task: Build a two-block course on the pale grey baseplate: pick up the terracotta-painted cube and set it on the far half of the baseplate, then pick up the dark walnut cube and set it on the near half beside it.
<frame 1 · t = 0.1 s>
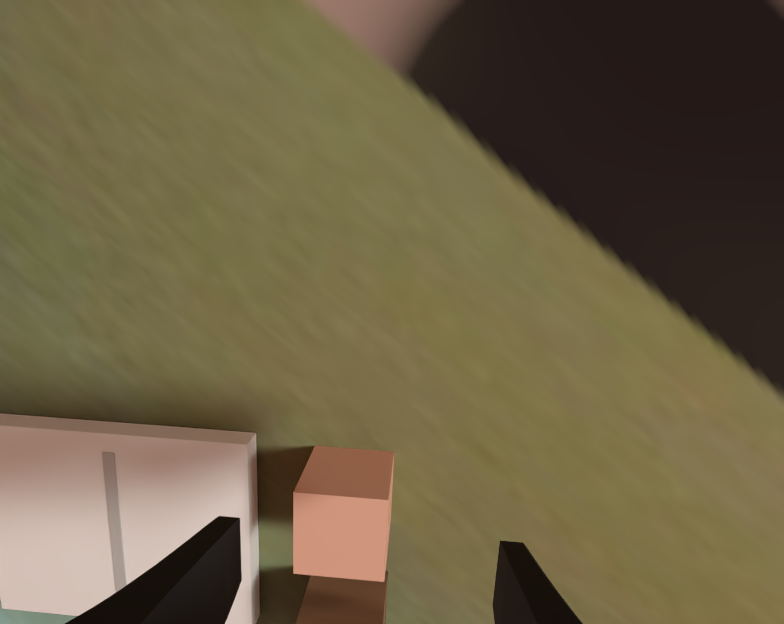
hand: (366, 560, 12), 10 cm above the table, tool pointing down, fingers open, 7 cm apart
terracotta block: (353, 483, 23), on the table
baseplate: (131, 516, 24), on the table
walnut block: (350, 598, 25), on the table
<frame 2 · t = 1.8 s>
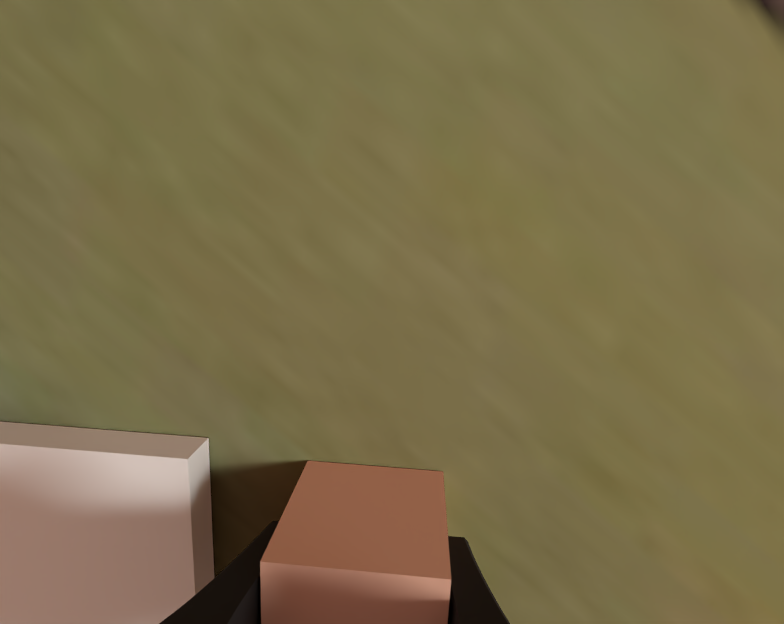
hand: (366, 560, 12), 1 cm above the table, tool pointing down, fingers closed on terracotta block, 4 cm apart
terracotta block: (372, 525, 14), on the table, touching gripper
baseplate: (9, 573, 15), on the table
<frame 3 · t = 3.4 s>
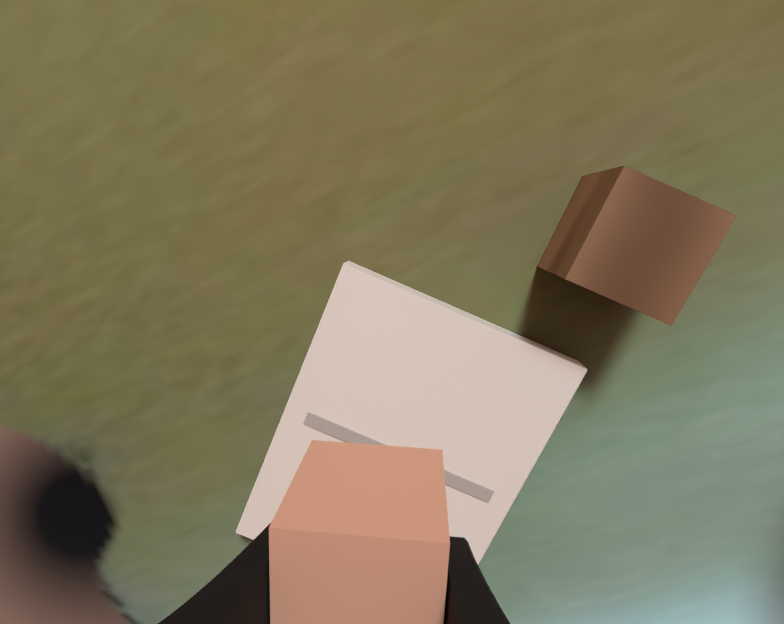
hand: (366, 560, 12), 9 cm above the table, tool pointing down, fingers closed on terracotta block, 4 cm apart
terracotta block: (374, 502, 14), point 7 cm above the table, touching gripper
baseplate: (400, 443, 21), on the table
walnut block: (602, 241, 19), on the table
when the fingers open (4 cm above the table, at t = 5.1 s): terracotta block stays where it is, resting on baseplate.
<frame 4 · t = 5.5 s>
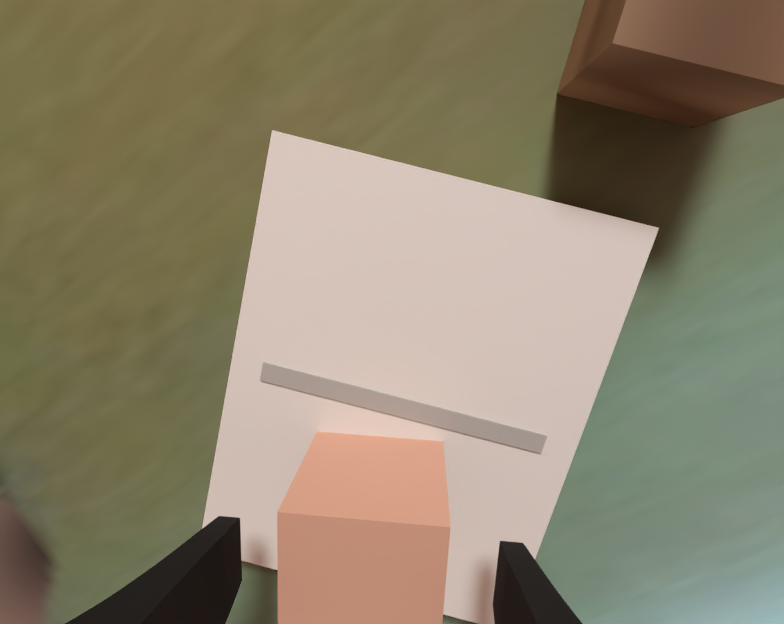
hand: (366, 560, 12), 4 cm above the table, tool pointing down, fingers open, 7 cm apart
terracotta block: (376, 492, 15), point 1 cm above the table, touching baseplate
baseplate: (403, 392, 15), on the table
walnut block: (648, 36, 13), on the table
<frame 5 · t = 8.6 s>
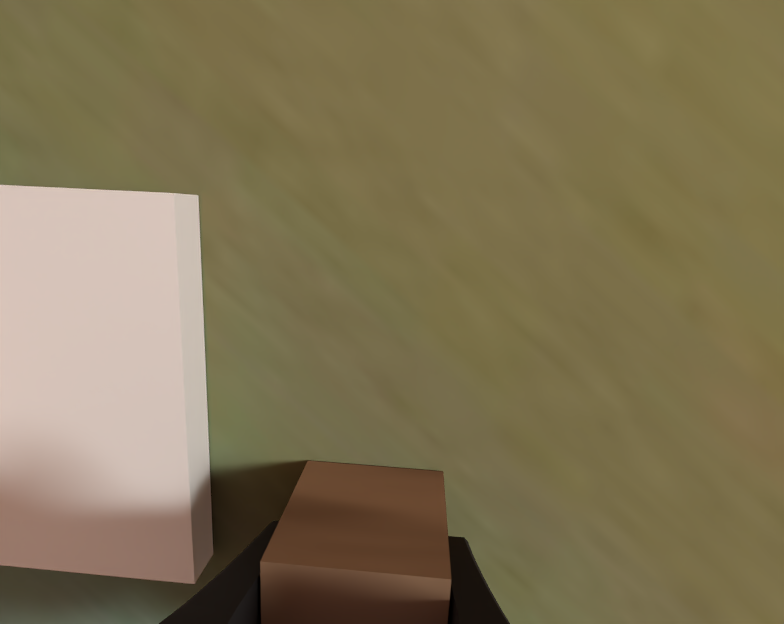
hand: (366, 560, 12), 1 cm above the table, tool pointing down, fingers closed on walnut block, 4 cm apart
walnut block: (372, 525, 14), on the table, touching gripper
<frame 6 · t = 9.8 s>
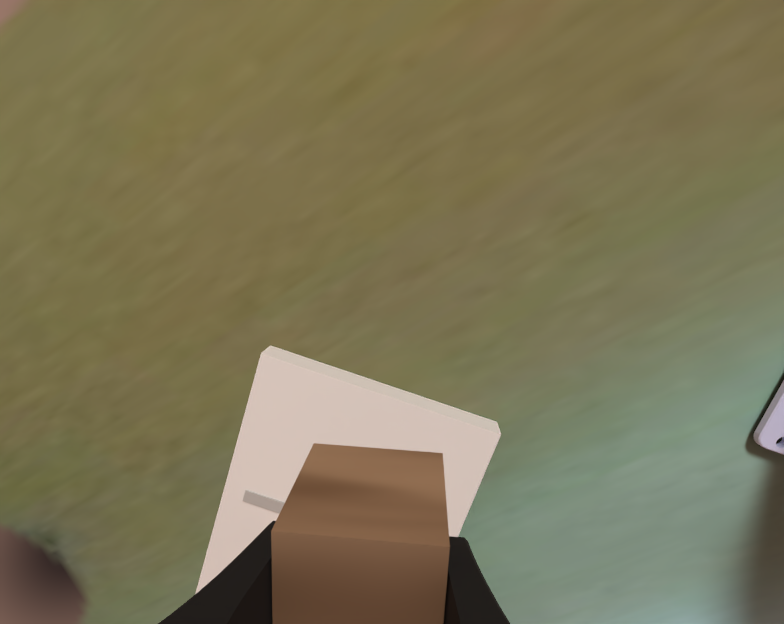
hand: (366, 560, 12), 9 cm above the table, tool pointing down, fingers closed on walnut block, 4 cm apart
baseplate: (340, 509, 22), on the table
walnut block: (375, 505, 14), point 7 cm above the table, touching gripper
when the fingers open (4 cm above the table, at t = 11.4 s): walnut block stays where it is, resting on baseplate.
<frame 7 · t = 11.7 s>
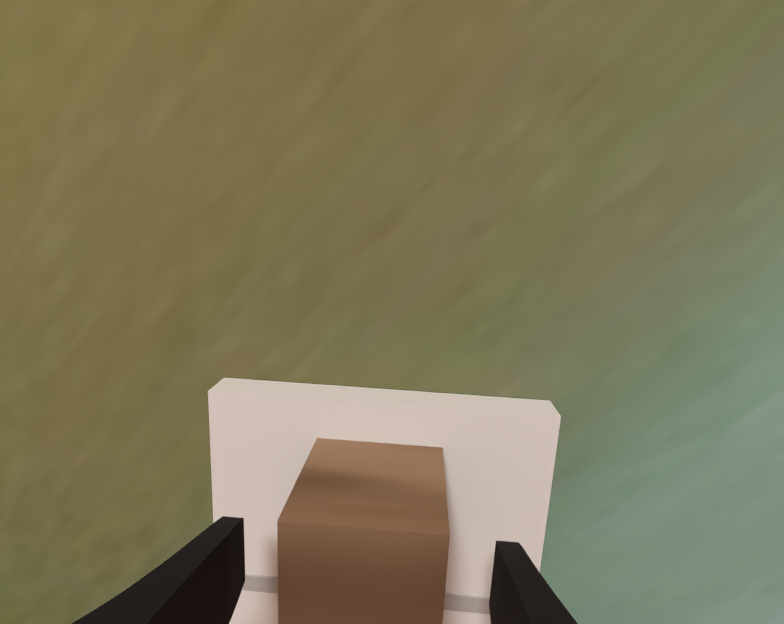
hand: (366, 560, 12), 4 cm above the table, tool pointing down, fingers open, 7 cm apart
baseplate: (375, 567, 17), on the table
walnut block: (376, 498, 15), point 1 cm above the table, touching baseplate
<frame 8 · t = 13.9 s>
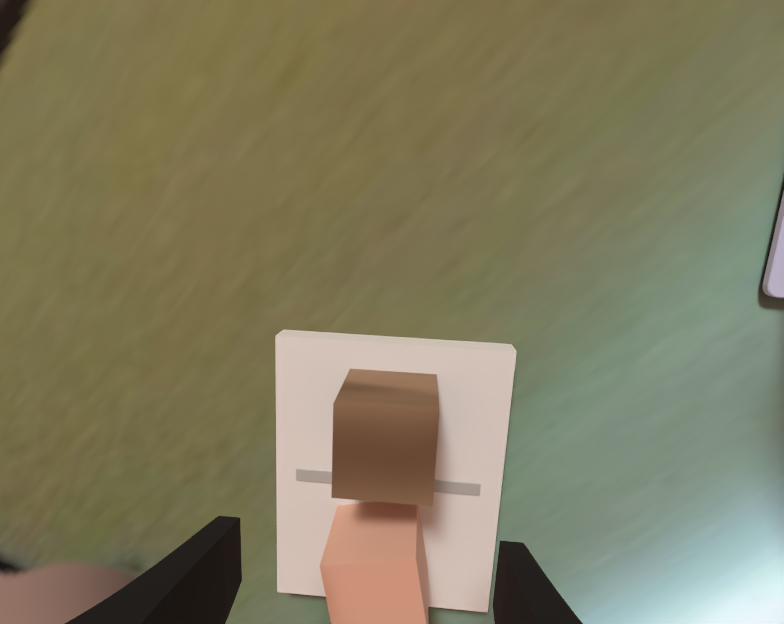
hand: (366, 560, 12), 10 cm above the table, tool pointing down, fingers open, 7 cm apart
terracotta block: (383, 537, 23), point 1 cm above the table, touching baseplate
baseplate: (389, 468, 23), on the table
walnut block: (391, 411, 21), point 1 cm above the table, touching baseplate
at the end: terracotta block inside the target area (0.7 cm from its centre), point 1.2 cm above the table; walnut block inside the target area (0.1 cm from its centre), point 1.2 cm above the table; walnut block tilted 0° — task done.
